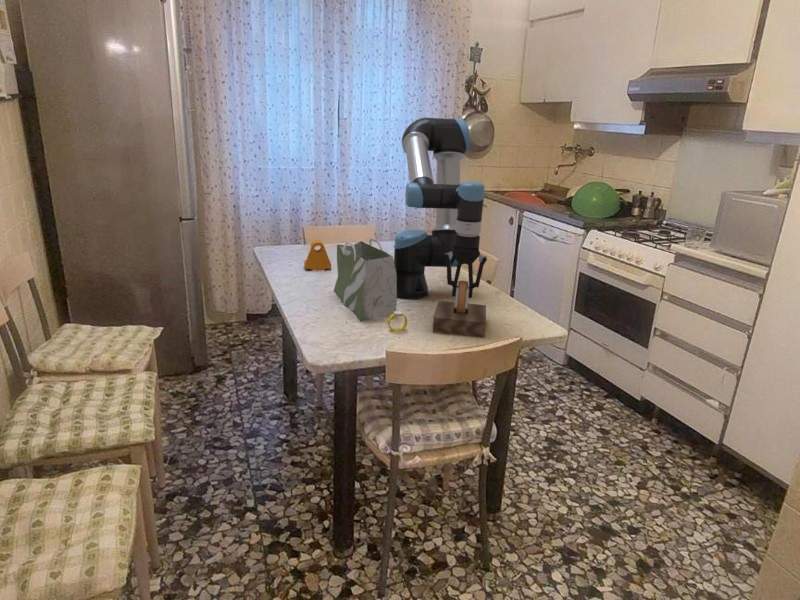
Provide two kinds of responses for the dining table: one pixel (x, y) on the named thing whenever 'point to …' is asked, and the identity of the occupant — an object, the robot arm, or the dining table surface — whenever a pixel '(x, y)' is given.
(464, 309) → the peg
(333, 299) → the dining table surface
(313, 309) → the dining table surface
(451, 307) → the socket block
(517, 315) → the dining table surface
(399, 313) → the yellow ring
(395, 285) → the grocery bag
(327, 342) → the dining table surface
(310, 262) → the bracket
